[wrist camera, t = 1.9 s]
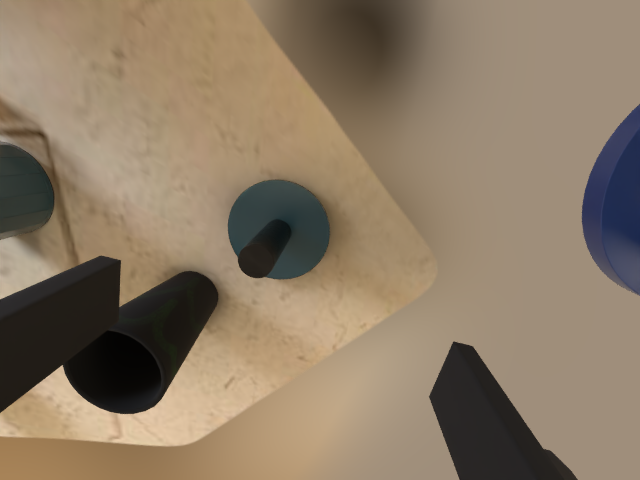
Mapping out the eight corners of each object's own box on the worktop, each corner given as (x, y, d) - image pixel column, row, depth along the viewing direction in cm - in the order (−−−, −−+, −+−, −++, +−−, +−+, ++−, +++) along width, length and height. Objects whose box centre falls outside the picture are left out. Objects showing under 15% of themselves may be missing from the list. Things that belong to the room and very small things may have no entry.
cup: (149, 268, 32) (42, 334, 20) (215, 256, 31) (142, 317, 19) (173, 329, 34) (88, 420, 22) (235, 319, 33) (180, 409, 22)
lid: (322, 171, 28) (313, 180, 19) (336, 269, 31) (334, 316, 22) (221, 187, 29) (170, 202, 20) (243, 280, 32) (207, 329, 23)
